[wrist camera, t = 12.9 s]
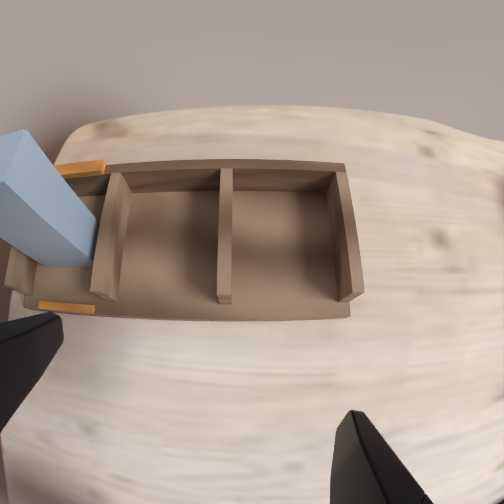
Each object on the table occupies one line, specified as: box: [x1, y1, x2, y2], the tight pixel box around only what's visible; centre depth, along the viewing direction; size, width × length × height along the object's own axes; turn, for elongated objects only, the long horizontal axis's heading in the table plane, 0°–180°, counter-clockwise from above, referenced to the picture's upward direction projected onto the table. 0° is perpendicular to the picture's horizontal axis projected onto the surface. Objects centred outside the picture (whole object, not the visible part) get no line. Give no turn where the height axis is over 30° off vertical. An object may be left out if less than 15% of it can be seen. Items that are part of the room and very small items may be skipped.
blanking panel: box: [0, 129, 100, 267], centre depth 16 cm, size 3×6×12 cm, turn 91°
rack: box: [4, 159, 364, 321], centre depth 21 cm, size 11×25×5 cm, turn 91°
